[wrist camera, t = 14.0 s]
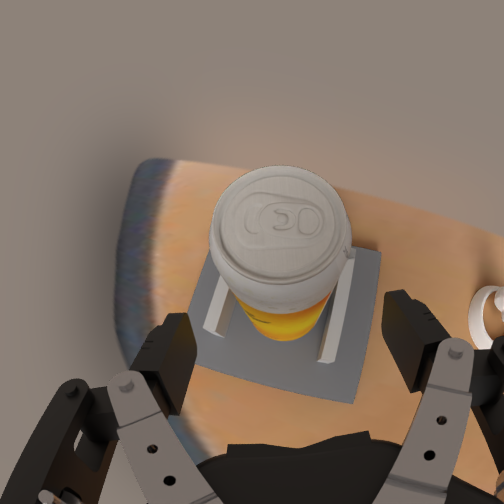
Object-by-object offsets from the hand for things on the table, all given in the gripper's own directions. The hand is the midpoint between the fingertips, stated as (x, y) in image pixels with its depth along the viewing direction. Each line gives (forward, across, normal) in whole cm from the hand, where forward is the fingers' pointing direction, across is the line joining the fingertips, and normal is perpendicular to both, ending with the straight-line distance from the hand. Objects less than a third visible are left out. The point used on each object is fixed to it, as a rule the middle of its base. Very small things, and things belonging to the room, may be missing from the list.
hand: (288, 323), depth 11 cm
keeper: (+13, 0, +7) cm, 15 cm away
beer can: (+12, 0, +7) cm, 14 cm away
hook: (+10, -22, +11) cm, 27 cm away
